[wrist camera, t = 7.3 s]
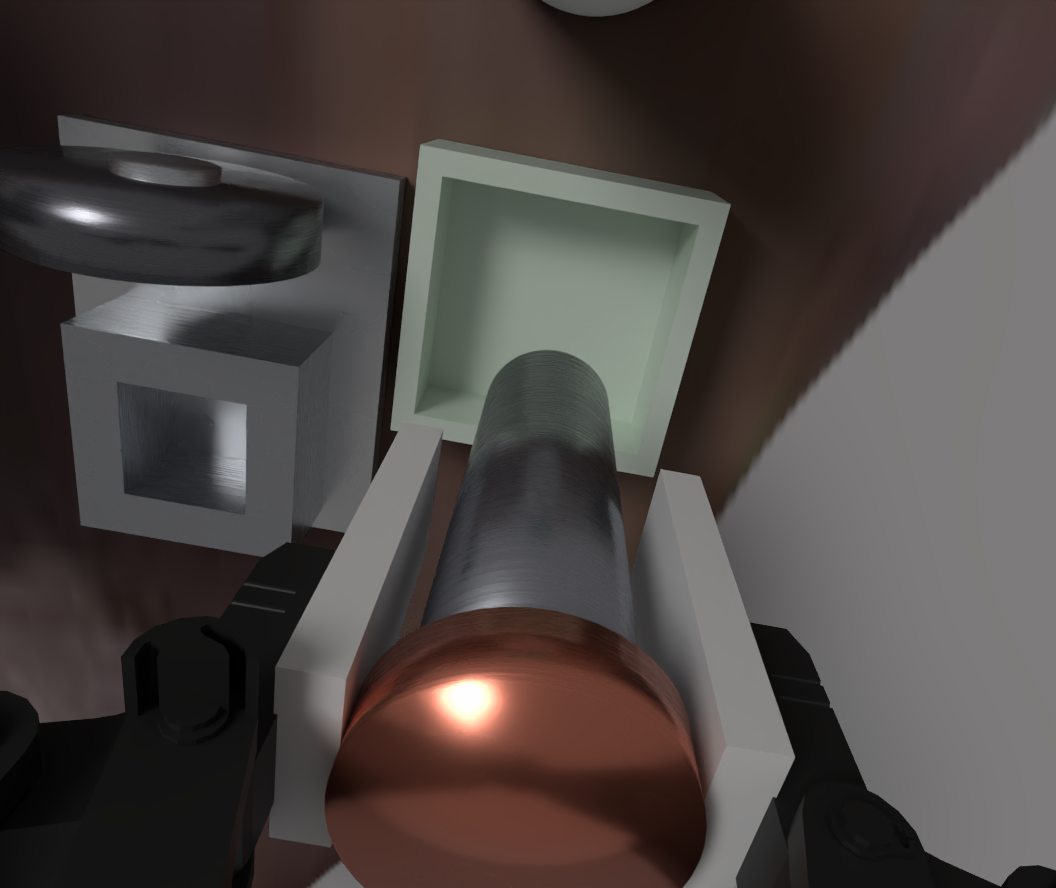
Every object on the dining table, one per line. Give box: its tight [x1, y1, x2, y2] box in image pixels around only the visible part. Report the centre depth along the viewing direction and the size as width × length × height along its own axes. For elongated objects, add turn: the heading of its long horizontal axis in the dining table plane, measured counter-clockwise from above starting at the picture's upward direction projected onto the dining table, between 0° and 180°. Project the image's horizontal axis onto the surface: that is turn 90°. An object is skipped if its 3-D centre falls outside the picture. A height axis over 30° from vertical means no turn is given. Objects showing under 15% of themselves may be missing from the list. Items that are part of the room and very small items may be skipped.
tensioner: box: [0, 114, 407, 557], centre depth 25 cm, size 12×15×10 cm
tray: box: [390, 139, 731, 477], centre depth 27 cm, size 10×10×4 cm
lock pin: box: [325, 350, 707, 888], centre depth 14 cm, size 4×4×12 cm
